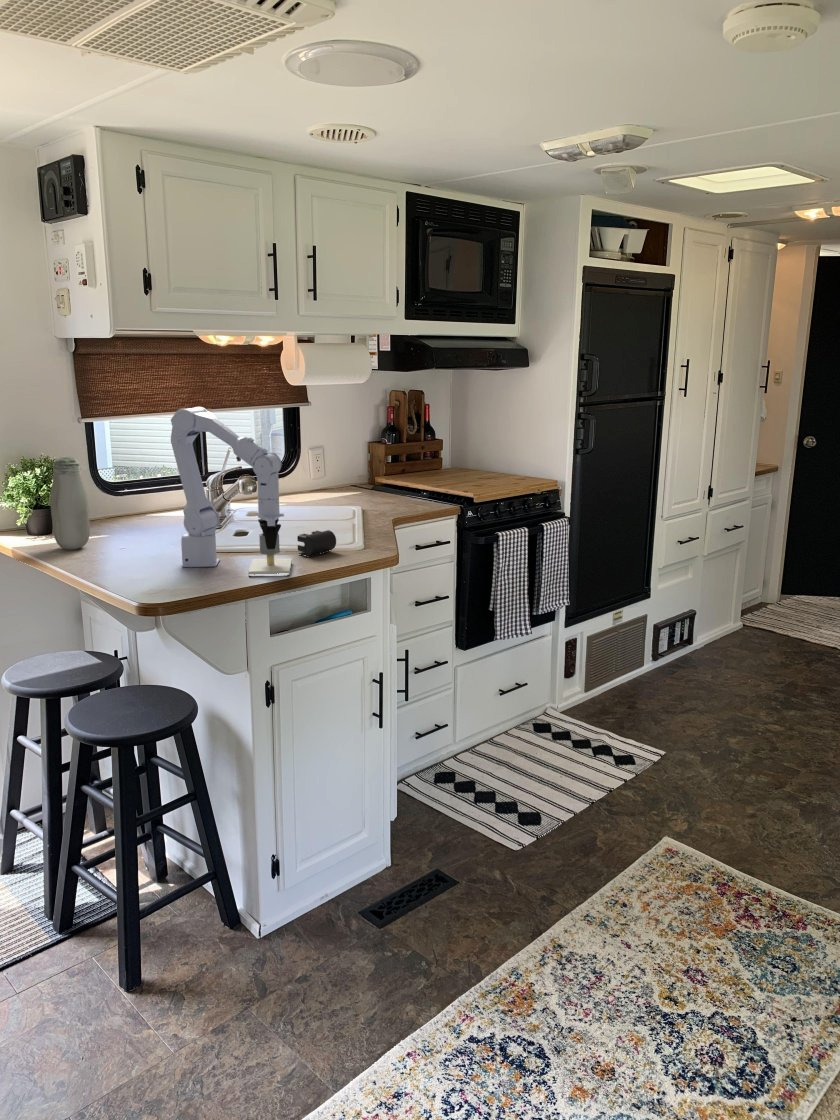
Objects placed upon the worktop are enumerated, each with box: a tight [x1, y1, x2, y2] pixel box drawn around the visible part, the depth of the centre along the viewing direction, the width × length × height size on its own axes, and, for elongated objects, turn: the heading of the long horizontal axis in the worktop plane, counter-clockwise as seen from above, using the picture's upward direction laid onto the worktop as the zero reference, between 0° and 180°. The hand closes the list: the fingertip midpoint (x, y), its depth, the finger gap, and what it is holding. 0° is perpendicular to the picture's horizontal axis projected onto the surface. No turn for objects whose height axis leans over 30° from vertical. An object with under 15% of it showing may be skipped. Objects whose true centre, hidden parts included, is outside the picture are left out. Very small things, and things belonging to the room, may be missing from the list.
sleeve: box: [258, 532, 280, 556], centre depth 236 cm, size 5×5×5 cm
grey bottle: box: [49, 456, 91, 551], centre depth 256 cm, size 10×10×28 cm
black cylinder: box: [297, 529, 337, 557], centre depth 255 cm, size 10×7×7 cm
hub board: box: [247, 554, 293, 575], centre depth 237 cm, size 11×14×6 cm
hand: (270, 546), depth 236 cm, fingers closed on sleeve, 5 cm apart
